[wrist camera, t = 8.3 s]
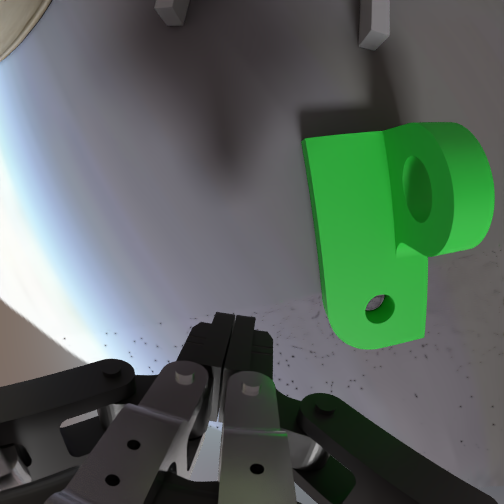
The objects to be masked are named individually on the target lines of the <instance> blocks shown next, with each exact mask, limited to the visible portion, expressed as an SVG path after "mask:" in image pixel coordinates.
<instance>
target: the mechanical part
mask: <svg viewBox="0 0 504 504" xmlns="http://www.w3.org/2000/svg"><path fill="white" fill-rule="evenodd" d="M301 143H302V149H303V155H304V161H305V167H306V173H307V180H308V186H309V193H310V200H311V207H312V214H313V221H314V228H315V236H316V244H317V252H318V261H319V270H320V279H321V289H322V299H323V305H324V309H325V311H326V314H327V317H328V319H329V322H330V324H331V327H332V329H333V331H334V332H335V334H336V335H337V336H338V337H339V338H340V339H341V340H342V341H343V342H345V343H346V344H348V345H350V346H353V347H355V348H359V349H378V348H383V347H387V346H392V345H396V344H400V343H404V342H408V341H412V340H416V339H420V338H424V334H425V322H426V306H427V280H428V257H432V256H437V255H442V254H447V253H452V252H457V251H462V250H467V249H471V248H474V247H475V246H477V245H478V244H479V243H480V242H481V241H482V240H483V239H484V237H485V236H486V234H487V232H488V230H489V227H490V224H491V221H492V217H493V211H494V200H495V197H494V183H493V177H492V173H491V169H490V166H489V162H488V160H487V157H486V155H485V153H484V151H483V149H482V147H481V145H480V143H479V142H478V140H477V139H476V138H475V136H474V135H473V134H472V133H471V132H470V131H469V130H468V129H467V128H465V127H464V126H462V125H460V124H457V123H452V122H423V123H408V124H405V125H401V126H398V127H394V128H391V129H388V130H384V131H375V132H362V133H350V134H340V135H330V136H321V137H313V138H305V139H304V140H303V141H301ZM381 294H385V296H384V300H383V302H382V304H381V305H380V306H379V307H377V308H376V309H374V310H365V309H366V306H367V304H368V302H369V301H370V300H371V299H372V298H373V297H375V296H377V295H381Z"/></svg>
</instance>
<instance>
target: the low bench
mask: <svg viewBox="0 0 504 504" xmlns="http://www.w3.org/2000/svg"><path fill="white" fill-rule="evenodd" d="M189 1H190V0H156V3H155V6H154V9H155V10H156V12H157V13H158V14H159V16H160V17H161V18H162V19H163V21H164V22H165V23H166V25H167V26H178V25H184V21H185V17H186V13H187V9H188V5H189ZM389 36H390V0H360V25H359V43H358V47H362V48H366V49H369V50H373V51H375V50H376V49H377V48H378V47H379V46H380V45H381V44H382V43H383V42H384V41H385V40H386V39H387V38H388V37H389Z"/></svg>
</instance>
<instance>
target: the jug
mask: <svg viewBox="0 0 504 504" xmlns="http://www.w3.org/2000/svg"><path fill="white" fill-rule="evenodd" d="M51 1H52V0H0V62H1V61H2V60H3V59H5V58H6V57H7V56H8V55H9V54H10V53H11V52H12V51H13V50H14V49H15V48H16V47H17V46H18V45H19V44H20V43H21V42H22V41H23V40H24V39H25V37H26V36H27V35H28V33H29V32H30V31H31V30H32V29H33V27H34V26H35V25H36V24H37V22H38V21H39V19H40V18H41V17H42V15H43V14H44V12H45V11H46V9H47V7H48V6H49V4H50V2H51Z"/></svg>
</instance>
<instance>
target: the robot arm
mask: <svg viewBox="0 0 504 504" xmlns="http://www.w3.org/2000/svg"><path fill="white" fill-rule="evenodd" d="M254 326H255V317H248V316H241V315H237V316H236V320H235V315H233V314H227V313H220V312H216V314H215V317H214V319H213V322H212V324H210V323H204V322H200V323H199V324H197V325H196V326H194V327H193V328H192V330H191V332H190V334H189V336H188V338H187V340H186V342H185V344H184V346H183V348H182V350H181V352H180V354H179V356H178V358H177V360H176V361H175V362H171V363H169V364H167V365H166V366H165V367H164V368H163V369H162V370H161V372H160V373H159V374H158V375H135V372H134V369H133V367H132V366H131V365H130V364H129V363H127V362H125V361H122V360H118V359H105V360H101V361H97V362H94V363H90V364H87V365H84V366H80V367H77V368H73V369H69V370H66V371H62V372H58V373H55V374H51V375H47V376H43V377H40V378H36V379H32V380H28V381H24V382H20V383H16V384H12V385H8V386H3V387H0V504H301V503H299V502H297V501H296V493H295V486H294V482H295V483H296V484H297V485H298V486H299V487H300V488H301V489H303V490H304V491H305V492H306V493H307V494H308V495H309V496H310V497H311V498H312V499H313V500H314V501H316V502H317V503H318V504H498V503H497V502H496V501H495V500H494V499H493V498H492V497H491V496H489V495H487V494H485V493H484V492H482V491H480V490H478V489H477V488H475V487H473V486H471V485H470V484H468V483H466V482H465V481H463V480H461V479H459V478H458V477H456V476H454V475H453V474H451V473H449V472H448V471H446V470H445V469H443V468H441V467H440V466H438V465H437V464H435V463H433V462H432V461H430V460H429V459H427V458H425V457H424V456H422V455H421V454H419V453H418V452H416V451H415V450H413V449H412V448H410V447H408V446H407V445H405V444H404V443H402V442H401V441H399V440H398V439H396V438H395V437H393V436H392V435H391V434H389V433H388V432H386V431H385V430H383V429H382V428H380V427H379V426H377V425H376V424H374V423H373V422H372V421H370V420H369V419H367V418H366V417H364V416H363V415H362V414H360V413H359V412H357V411H356V410H355V409H353V408H352V407H350V406H349V405H348V404H346V403H345V402H344V401H342V400H341V399H339V398H338V397H335V396H333V395H330V394H325V393H314V394H310V395H308V396H306V397H305V398H304V399H303V400H302V401H298V400H295V399H292V398H289V397H287V396H285V395H283V394H282V393H280V392H279V391H278V390H277V389H276V388H275V384H274V382H273V339H272V337H271V336H270V335H269V333H268V332H265V331H258V330H254ZM219 408H220V411H219ZM96 409H97V412H98V416H97V417H94V418H91V419H88V420H85V421H82V422H79V423H76V424H73V425H70V426H67V427H63V428H60V425H61V423H62V422H63V421H65V420H66V419H69V418H73V417H76V416H79V415H82V414H85V413H88V412H91V411H94V410H96ZM218 412H219V422H222V423H223V427H222V436H221V446H220V458H219V470H218V481H213V482H212V481H211V482H194V481H190V480H189V479H190V476H191V474H192V471H193V468H194V466H195V463H196V460H197V458H198V455H199V452H200V450H201V447H202V444H203V441H204V438H205V432H206V430H207V427H208V423H209V421H215V422H216V421H217V417H218ZM331 455H332V456H333V457H332V456H331ZM337 460H338V461H339V462H338V461H337ZM342 464H343V465H344V466H343V465H342ZM347 468H348V469H349V470H348V469H347Z"/></svg>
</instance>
